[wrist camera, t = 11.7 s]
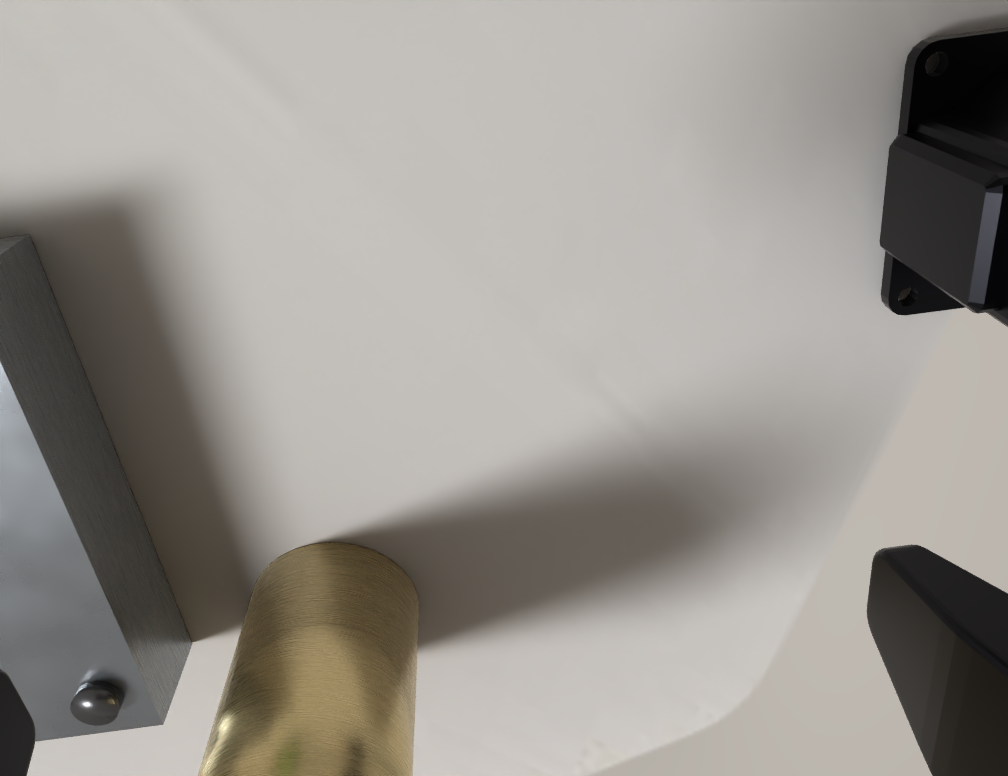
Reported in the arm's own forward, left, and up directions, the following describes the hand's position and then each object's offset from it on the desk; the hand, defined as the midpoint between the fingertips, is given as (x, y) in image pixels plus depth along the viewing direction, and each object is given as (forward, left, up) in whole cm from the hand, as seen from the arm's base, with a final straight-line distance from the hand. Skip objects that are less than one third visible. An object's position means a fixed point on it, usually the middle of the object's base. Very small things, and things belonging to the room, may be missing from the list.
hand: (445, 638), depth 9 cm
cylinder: (+5, +11, -13) cm, 18 cm away
